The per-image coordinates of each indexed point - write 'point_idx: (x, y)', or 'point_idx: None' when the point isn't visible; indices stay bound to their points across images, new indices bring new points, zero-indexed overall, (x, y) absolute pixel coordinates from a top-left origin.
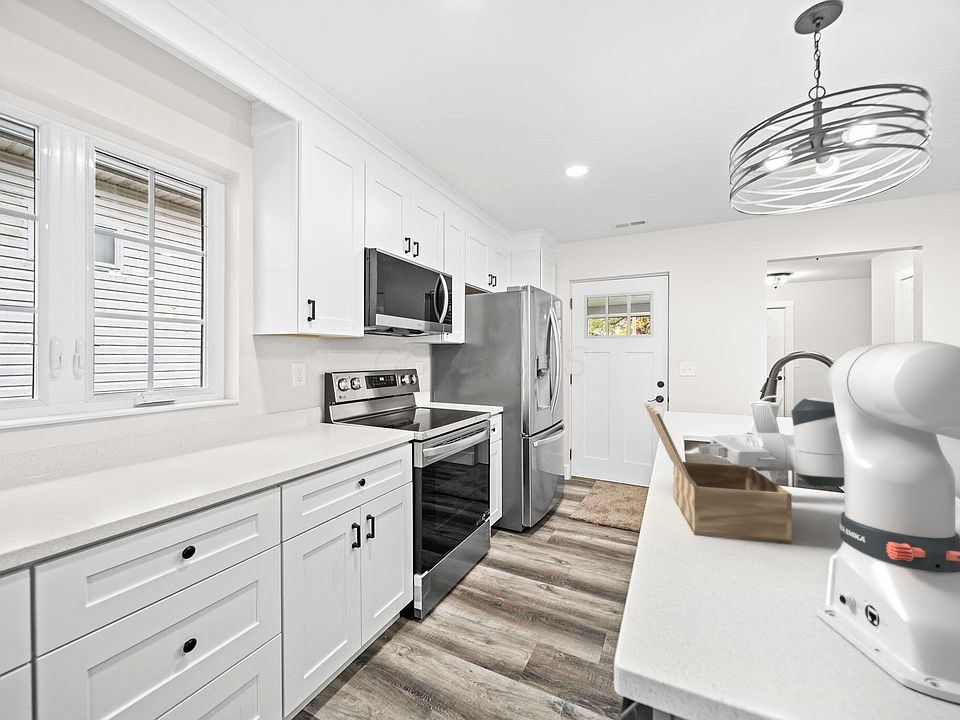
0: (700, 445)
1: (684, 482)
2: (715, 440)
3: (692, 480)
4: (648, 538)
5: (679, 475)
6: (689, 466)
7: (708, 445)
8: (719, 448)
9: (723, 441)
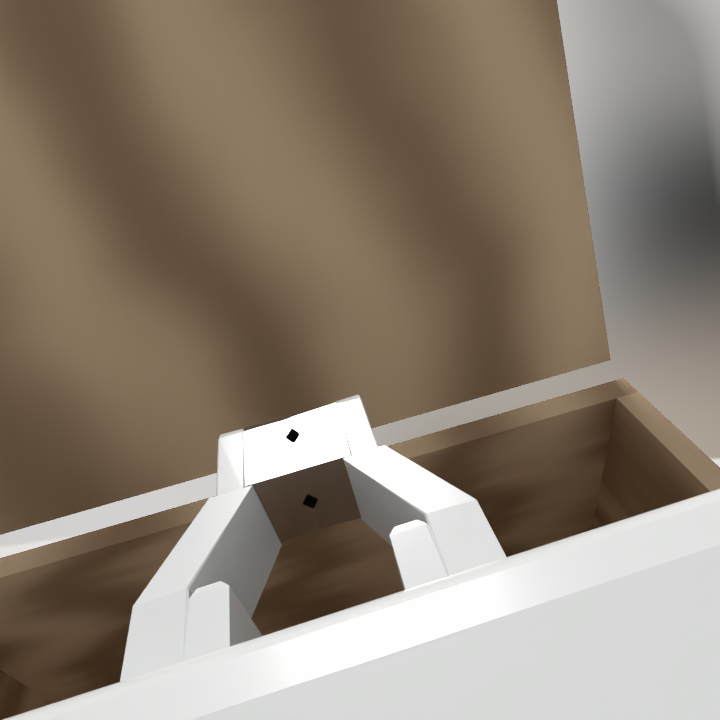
0: (311, 410)
1: None
2: (690, 498)
3: (59, 558)
4: (27, 545)
5: None
6: (672, 480)
7: (361, 473)
8: (140, 628)
9: (447, 647)
